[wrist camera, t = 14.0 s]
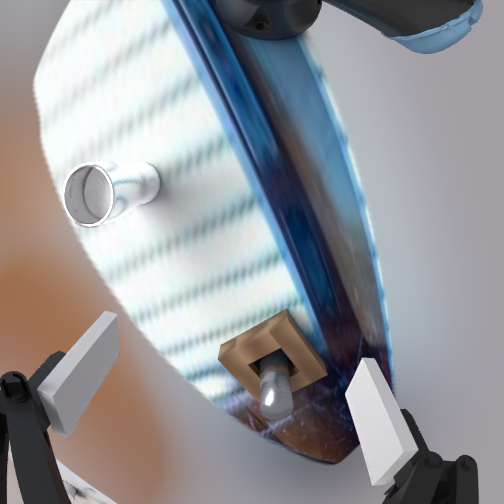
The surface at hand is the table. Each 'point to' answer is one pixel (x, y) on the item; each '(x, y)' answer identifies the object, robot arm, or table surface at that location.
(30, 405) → the robot arm
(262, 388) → the steel peg
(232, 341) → the socket block
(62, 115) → the table surface
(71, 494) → the ramekin
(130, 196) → the beer glass
